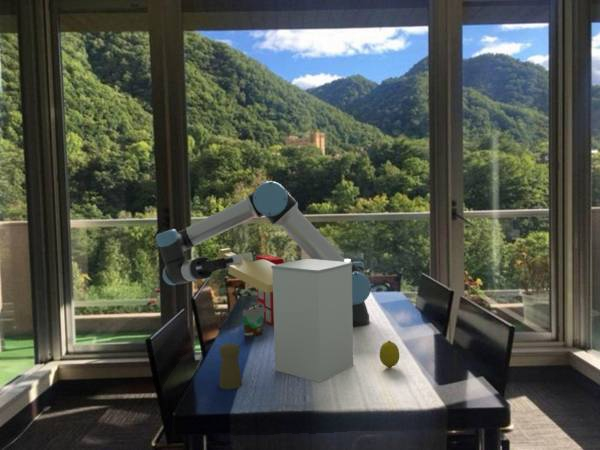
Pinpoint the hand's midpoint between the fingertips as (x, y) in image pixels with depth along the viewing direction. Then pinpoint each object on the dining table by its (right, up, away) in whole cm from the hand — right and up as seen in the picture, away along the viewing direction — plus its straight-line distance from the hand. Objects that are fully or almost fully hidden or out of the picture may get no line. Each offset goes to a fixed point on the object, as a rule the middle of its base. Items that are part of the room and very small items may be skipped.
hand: (246, 257), depth 166 cm
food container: (+2, -29, +21) cm, 36 cm away
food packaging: (+6, -28, +39) cm, 48 cm away
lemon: (+42, -31, -17) cm, 55 cm away
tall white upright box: (+21, -31, -15) cm, 40 cm away
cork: (-1, -32, -27) cm, 42 cm away
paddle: (+2, -5, -1) cm, 5 cm away
